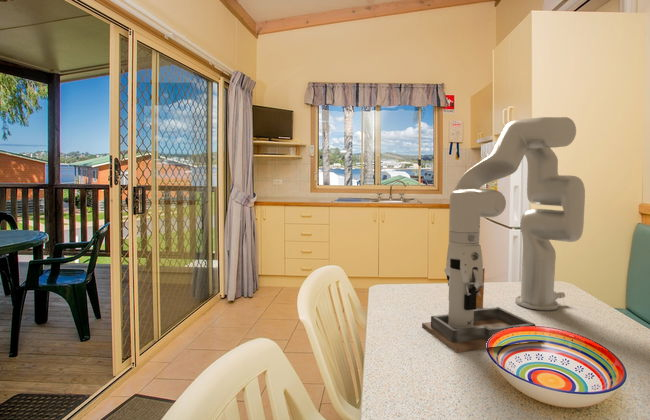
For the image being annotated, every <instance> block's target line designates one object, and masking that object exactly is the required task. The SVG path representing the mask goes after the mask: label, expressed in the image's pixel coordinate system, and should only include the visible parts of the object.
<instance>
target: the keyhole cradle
mask: <svg viewBox="0 0 650 420" xmlns="http://www.w3.org/2000/svg"><path fill="white" fill-rule="evenodd" d="M448 322H449V313H448V314H438V315H431V316H430V321H429V322H422V323H421V326H422V328H423V329H425V330H426V331H427V332H429V333H430V334H432V335H433V336H434V337H435V338H437V339H438V340H440V341H441V342H443V344H445V345H446V346H448V347H449V348H450V349H451V350H453V351H454V352H456V353H462V352H463V353H464V352H471V351H478V350H485V349H486V343H487V341H488V339H489V338H490V337H491V336H492V335H493V334H495V333H497V332H499V331H501V330H504V329H508V328H513V327H520V326H535V327H536V324H535V323H534V322H531V321H529V320H527V319H524V318H522V317H521V316H518V315H516V314H514V313H512V312H510V311H507V310H505V309H504V308H501V307H499V306H498V307H497V306H496V307H486V308H479V309H477V308H476V309H474V321H473V327H471V328H462V329H454V328H452V327H451V326H449V325H448Z"/></svg>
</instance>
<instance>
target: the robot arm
mask: <svg viewBox="0 0 650 420" xmlns="http://www.w3.org/2000/svg"><path fill="white" fill-rule="evenodd" d="M576 135H577V127H576V124H575V122H574V120H573V119H572V118H570V117H567V116H560V117H559V116H558V117H556V116H555V117H554V116H550V117H549V116H548V117H545V116H542V117H533V118H525V119H516V120H512V121H510V122H508V123H507V124H506V125H505V126H504V127H503V129H502V130H501V133H500V134H499V136H498V137H497V139H496V142H495V143H494V145H493V146H492V149H491V150H490V152H489V154H488V156H487V157H485V158H484V159H482V160H481V161H479V162H478V163H476V164H475V165H473V166H472V167H470V168H469V169H468V170H466V172H465V173H463V175H462V176H460V178H459V179H458V181H457V183H456V185H455V187H454V189H453V191H452V192H451V193H450V195H449V217H448V220H449V221H448V246H447V251H446V253H447V254H446V264H445V265H446V267H445V269H444V273H445V275H446V280H447V286H448V287H449V281H450V259H456V260H460V270H461V272H460V273H461V280H462V282H463V283H464V284H465V290H466V294H465V295H464V309H465V310H476V309H477V307H476V297H477V295H478V292H479V291H480V289H481V288H482V287H483V286H484V287H485V282H484V283H483V268H484V264H483V261H484V260H483V253H482V248H481V247H482V246H481V245H480V231H481V230H480V228H481V225H480V224H481V218H492V219H493V218H496V217H498V216H500V215H501V214H502V213H503V212H504V211H505V209H506V206H507V201H506V198H505V196H504V194H503V193H502V192H500V191H499V190H497V189H492V188H491V189H489V188H487V189H486V188H481V187H482V186H485V185H487V184H488V183H491V182H495V181H497V180H501V179H503V178H506V177H508V176H511V175H513V174H515V172H517V171H518V169H519V166H520V164H521V163H522V160H523V158H524V156H525V158H526V161H527V174H526V175H527V178H526V179H527V180H526V195H527V196H526V198H527V199H528V201H529V202H530V203H531V204H533V205H538V206H539V205H540V206H541V205H542V206H554V207H555V206H556V207H562V210H557V209H556V210H555V209H545V208H533V209H528V210H526V211H524V212H523V214H522V215H521V216H520V217H521V218H520V229H521V235H522V259H521V260H522V261H521V263H522V264H521V281H520V283H521V284H520V285H521V286H520V295H519V296H516V297H515V303H516V304H517V305H518V306H521V307H524V308H527V309H531V310H538V311H556V310H558V309H559V306H560V303H558V301H557V300H558V299H564V298H565V297H566V294H565V292H563V291H559V292H557V291H555V275H556V261H557V260H556V257H557V256H556V254H557V253H556V250H555V248H554V246H553V244H552V242H551V241H557V242H567V243H573V242H577V241H579V240H580V239H581V237H582V236H583V232H584V224H585V205H586V204H585V203H586V202H585V201H586V188H585V184H584V182H583V180H582V179H581V178H580V177H578V176H576V175H566V174H565V175H561V174H560V175H559V159H558V156H557V155H556V153H555V152H554V150H553V149H552V148H562V147H564V148H565V147H568V146H570V145H571V144H572V143H573V142H574V140H575V138H576ZM470 279H472V280H473V282H469V281H470ZM469 285H472V288H471V289H470V287H469Z"/></svg>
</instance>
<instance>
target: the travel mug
mask: <svg viewBox="0 0 650 420" xmlns="http://www.w3.org/2000/svg"><path fill="white" fill-rule="evenodd" d="M460 272H461V270H460V260H456V259H450V281H449V286H448V314H449V322H448V325H449V326H451V327H452V328H454V329H462V328H471V327H473V321H474V310H475V309H474V310H465V309H464V295H465V294H466V290H465V284H464V283H463V282H462V280H461V273H460ZM469 282H473V280H472V279H470V281H469ZM469 287H470V289H471V288H472V285H469Z"/></svg>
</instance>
